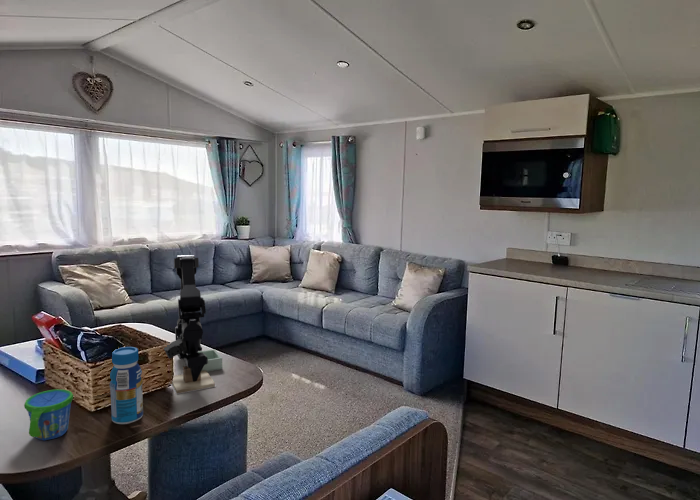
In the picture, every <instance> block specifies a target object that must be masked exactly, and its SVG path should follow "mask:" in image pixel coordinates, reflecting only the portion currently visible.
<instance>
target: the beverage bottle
mask: <svg viewBox="0 0 700 500" xmlns="http://www.w3.org/2000/svg"><path fill="white" fill-rule="evenodd" d="M138 361H139V349H138V348H137V347H134V346H124V347H123V346H122V347H118V349H115V350H114V351H113V352H112V363H113V365H114V366H113V368H112V370H111V372H110V379H111V381H110V382H109V389H110V391H109V393H110V409H111V421H112V422H113V423H114V424H117V425H129V424H131V423H134V422H137V421H139V420H140V419H142V418H143V417H144V406H143V405H144V403H143V402H144V401H143V383H144V381H143V377H142V374H143V371H142V368H141V366H140V364H139V363H138Z"/></svg>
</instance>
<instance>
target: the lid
mask: <svg viewBox="0 0 700 500" xmlns="http://www.w3.org/2000/svg"><path fill="white" fill-rule="evenodd" d="M173 376H174V378H173V381H172V384H173V386H174V389H175V391H176V393H181V394H183V393H182V392H186V393H188V392H187V391H191V392H193V391H192V390H196V391H198V390H197V389H202V388H207V389H209V388H208V387H212V388H214V387H213V386H215V384H216V383H215V381H214V380H213V378H212V377H211V376H210V373H208V372H207V371H206V370H204V371H201V373H200V375H199V377H198V379H197V381H195V382H193V379H192V375H191V370H190V368H189V367H187V366H186V365H184V366H183V368H182V374H178V375H173ZM202 390H203V389H202Z"/></svg>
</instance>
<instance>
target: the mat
mask: <svg viewBox="0 0 700 500" xmlns="http://www.w3.org/2000/svg"><path fill="white" fill-rule="evenodd" d="M170 386H171V387H172V390H173V393H174V395H180V394H186V393H191V392H196V391H200V390H206V389H212V388H216V387H218V386H217V384H216V383H215V386H213V387H208V388H202V389H197V390H192V391H187V392H182V393H176V391H175V389H174V386H173V384H170Z"/></svg>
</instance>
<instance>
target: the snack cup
mask: <svg viewBox="0 0 700 500" xmlns="http://www.w3.org/2000/svg"><path fill="white" fill-rule="evenodd" d="M73 399H74V394H73V392H72V391H71V390H69V389H62V388H61V389H60V388H59V389H58V388H57V389H49V390H45V391H40V392H37V393H35V394H33V395H31V396H30V397H28V398H27V399H26V400H25V402H24V404H23V406H24V409H25V410H26V411H27V414H28V418H29V428H28V434H29V436H30V437H32V438H36V439H38V440H41V441H47V440H48V441H49V440H53V439H57V438H60V437H62V436H63V435H64V434H66V433H67V431H68V429H69V425H70V424H69V422H70V416H71V415H70V414H71V407H72V406H71V404H72V401H73Z"/></svg>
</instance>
